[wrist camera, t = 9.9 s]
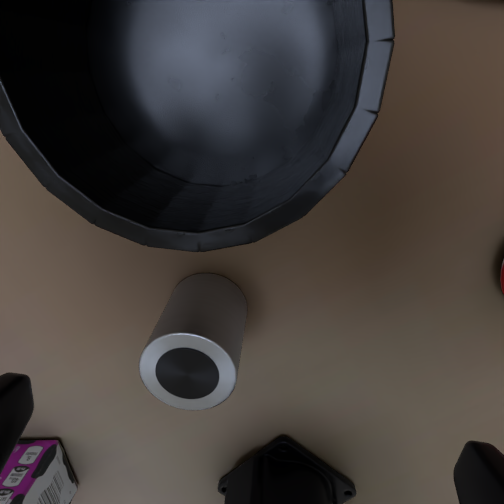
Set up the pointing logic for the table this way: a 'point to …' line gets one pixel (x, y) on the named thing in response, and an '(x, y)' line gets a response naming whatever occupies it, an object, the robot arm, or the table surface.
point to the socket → (196, 344)
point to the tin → (192, 108)
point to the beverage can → (502, 277)
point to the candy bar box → (37, 474)
